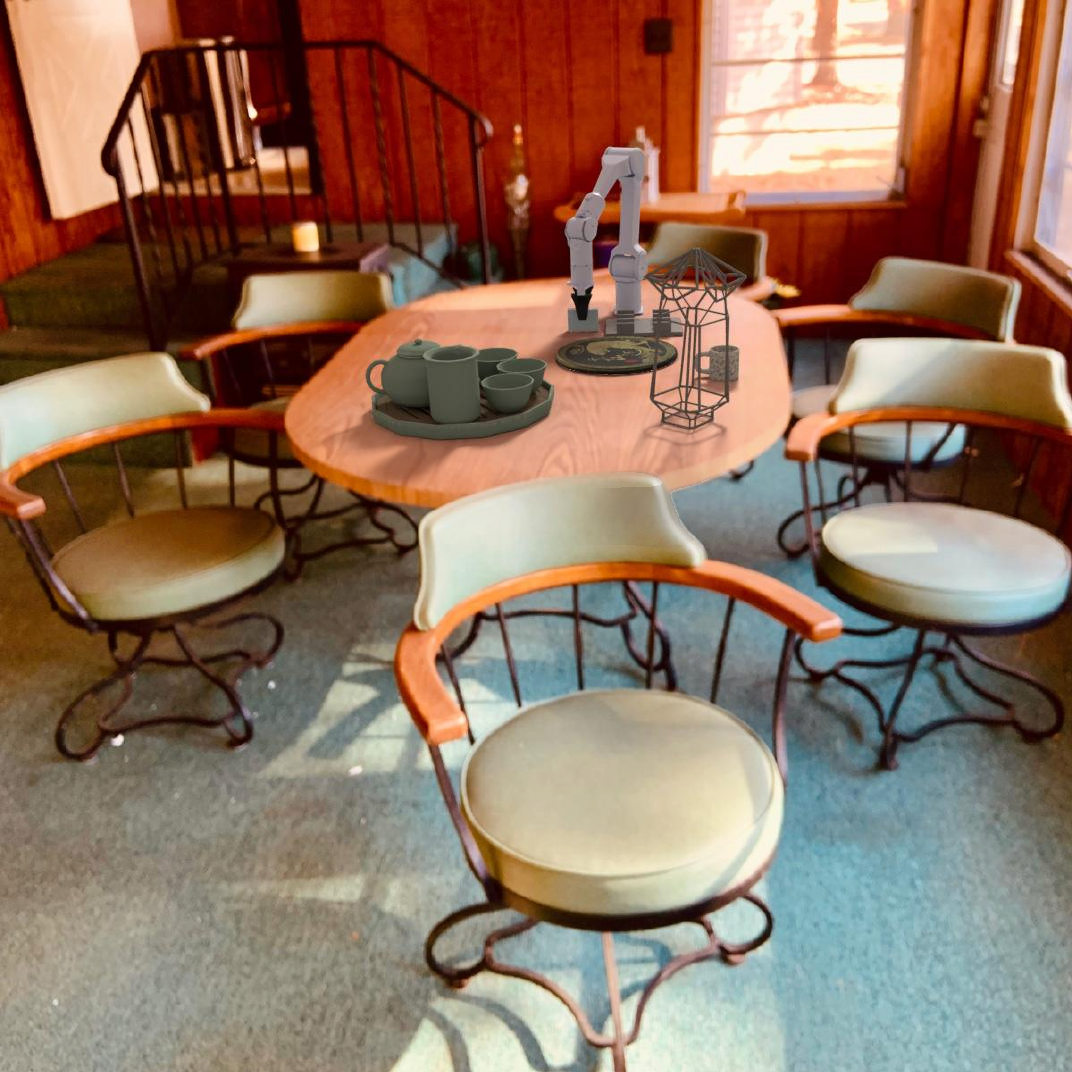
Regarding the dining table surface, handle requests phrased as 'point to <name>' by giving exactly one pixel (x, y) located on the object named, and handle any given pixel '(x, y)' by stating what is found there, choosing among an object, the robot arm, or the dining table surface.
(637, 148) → the robot arm
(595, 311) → the grey rectangular block
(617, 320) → the grey slotted organizer
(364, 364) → the dining table surface
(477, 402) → the tea set
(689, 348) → the geometric lantern
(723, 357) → the mug
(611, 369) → the decorative plate
